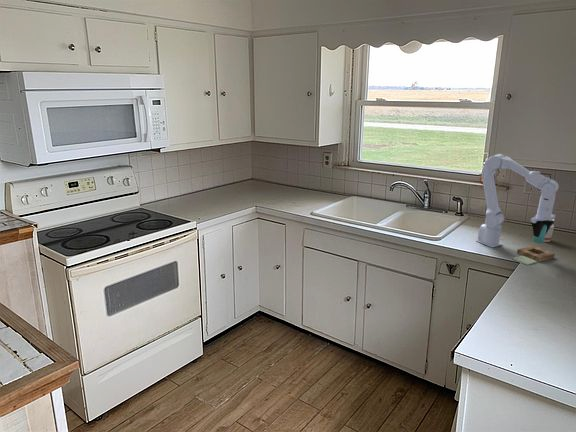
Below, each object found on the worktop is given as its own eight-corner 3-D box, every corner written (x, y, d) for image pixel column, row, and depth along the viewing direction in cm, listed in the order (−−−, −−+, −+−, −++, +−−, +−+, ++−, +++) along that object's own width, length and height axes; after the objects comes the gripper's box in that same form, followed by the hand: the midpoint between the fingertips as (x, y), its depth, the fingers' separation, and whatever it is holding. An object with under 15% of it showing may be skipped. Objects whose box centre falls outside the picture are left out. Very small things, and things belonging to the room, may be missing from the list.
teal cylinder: (530, 240, 203) (534, 224, 201) (536, 239, 205) (540, 223, 203) (539, 243, 200) (543, 227, 197) (545, 242, 202) (549, 225, 199)
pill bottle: (534, 237, 227) (538, 217, 223) (545, 237, 227) (550, 217, 224) (542, 242, 221) (546, 221, 217) (553, 242, 221) (558, 220, 218)
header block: (516, 253, 207) (517, 249, 206) (531, 249, 212) (532, 245, 211) (538, 261, 198) (539, 257, 197) (554, 257, 202) (554, 253, 202)
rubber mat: (512, 259, 200) (512, 258, 199) (522, 256, 203) (522, 255, 203) (526, 265, 194) (526, 264, 194) (536, 262, 197) (537, 261, 197)
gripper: (543, 211, 191) (537, 240, 195) (564, 207, 197) (557, 236, 201) (528, 207, 197) (523, 235, 201) (549, 203, 203) (543, 231, 207)
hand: (539, 235), depth 201 cm, fingers closed on teal cylinder, 4 cm apart
